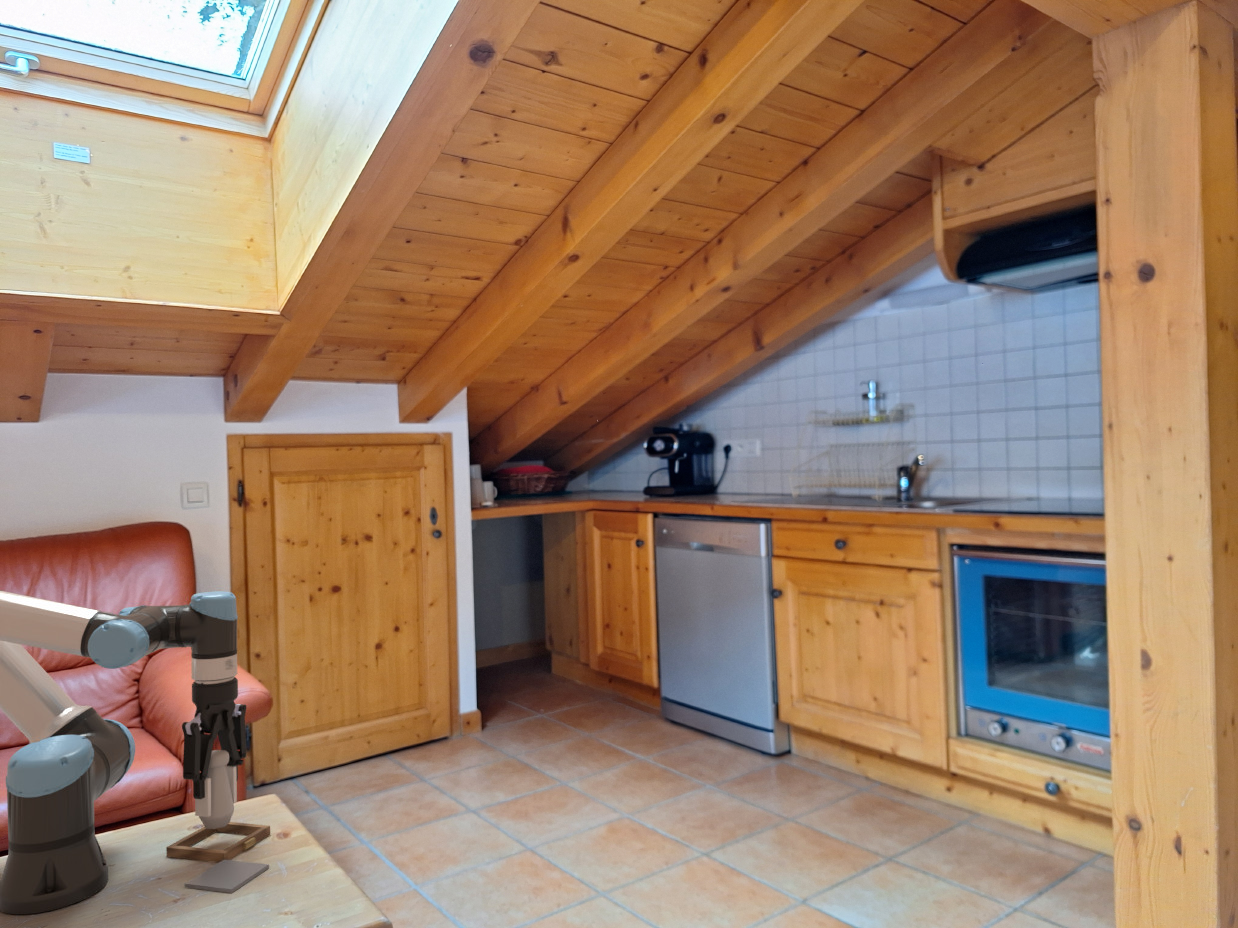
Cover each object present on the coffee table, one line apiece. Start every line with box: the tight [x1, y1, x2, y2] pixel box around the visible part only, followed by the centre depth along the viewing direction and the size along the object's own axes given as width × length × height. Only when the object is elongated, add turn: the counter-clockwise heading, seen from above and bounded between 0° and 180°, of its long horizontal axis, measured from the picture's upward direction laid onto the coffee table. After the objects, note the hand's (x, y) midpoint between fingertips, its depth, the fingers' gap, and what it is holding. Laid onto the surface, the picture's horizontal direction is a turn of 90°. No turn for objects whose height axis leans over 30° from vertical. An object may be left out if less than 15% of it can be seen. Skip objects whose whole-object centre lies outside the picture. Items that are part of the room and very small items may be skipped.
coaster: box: [184, 859, 270, 894], centre depth 145 cm, size 9×9×1 cm
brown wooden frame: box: [165, 821, 271, 863], centre depth 158 cm, size 13×12×2 cm
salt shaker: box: [198, 749, 235, 829], centre depth 158 cm, size 6×6×13 cm
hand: (216, 808), depth 158 cm, fingers closed on salt shaker, 6 cm apart
